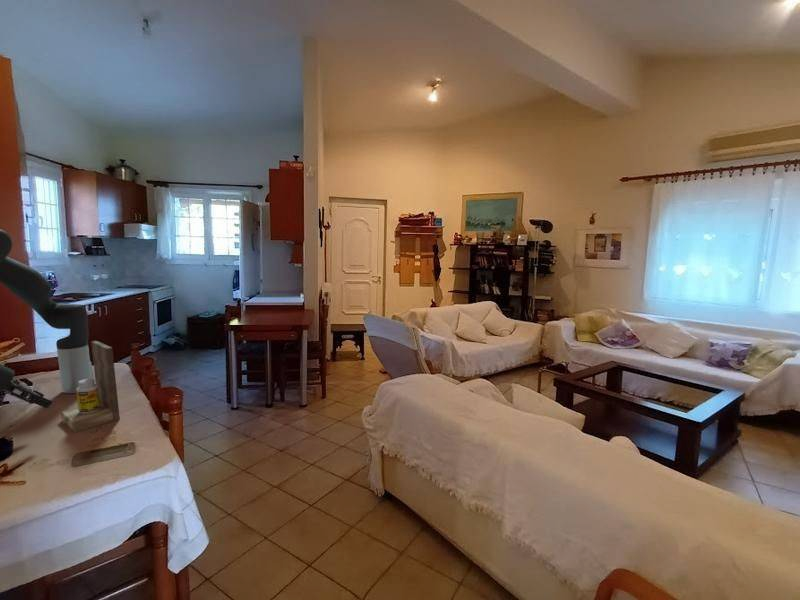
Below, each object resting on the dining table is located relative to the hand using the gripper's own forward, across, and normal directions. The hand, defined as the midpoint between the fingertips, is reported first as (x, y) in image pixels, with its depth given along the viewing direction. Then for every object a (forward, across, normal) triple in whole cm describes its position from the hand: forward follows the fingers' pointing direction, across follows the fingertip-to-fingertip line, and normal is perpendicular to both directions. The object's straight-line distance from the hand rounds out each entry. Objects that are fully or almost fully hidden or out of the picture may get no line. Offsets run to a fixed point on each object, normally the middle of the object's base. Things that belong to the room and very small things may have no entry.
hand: (45, 401), depth 119 cm
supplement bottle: (+12, 0, -2) cm, 13 cm away
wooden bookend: (+14, 0, 0) cm, 14 cm away
